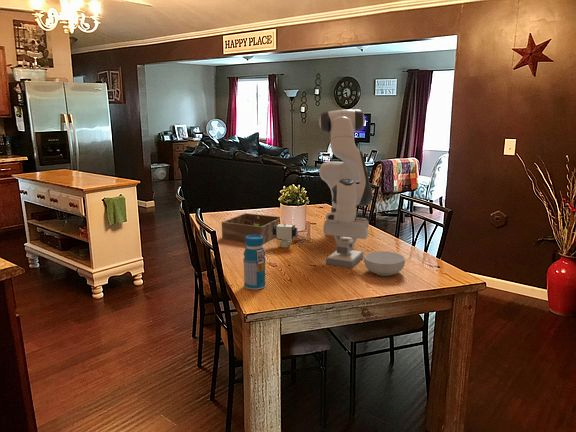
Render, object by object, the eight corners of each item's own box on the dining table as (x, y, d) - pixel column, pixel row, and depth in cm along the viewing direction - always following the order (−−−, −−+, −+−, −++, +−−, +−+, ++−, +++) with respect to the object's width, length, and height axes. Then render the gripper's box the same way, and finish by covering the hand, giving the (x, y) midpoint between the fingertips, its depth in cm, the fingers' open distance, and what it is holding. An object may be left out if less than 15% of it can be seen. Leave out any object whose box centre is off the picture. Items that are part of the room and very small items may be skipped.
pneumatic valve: (295, 248, 232) (295, 225, 229) (272, 247, 234) (272, 223, 231) (297, 245, 237) (297, 222, 234) (275, 244, 239) (274, 221, 237)
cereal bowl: (372, 264, 210) (373, 248, 208) (409, 270, 202) (410, 254, 200) (357, 275, 196) (358, 259, 194) (396, 283, 187) (397, 266, 186)
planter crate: (245, 228, 270) (245, 213, 268) (283, 233, 260) (283, 217, 258) (222, 238, 249) (221, 222, 247) (262, 244, 239) (261, 227, 237)
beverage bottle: (243, 290, 179) (242, 239, 175) (244, 282, 188) (243, 233, 183) (265, 290, 180) (265, 239, 175) (265, 282, 188) (265, 233, 183)
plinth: (338, 253, 224) (338, 247, 223) (362, 257, 219) (363, 251, 218) (325, 263, 210) (326, 257, 209) (351, 267, 205) (352, 261, 204)
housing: (342, 248, 218) (343, 235, 216) (353, 249, 216) (353, 236, 214) (336, 252, 211) (337, 239, 209) (347, 254, 209) (347, 241, 207)
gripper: (370, 217, 208) (369, 247, 211) (327, 212, 216) (326, 241, 220) (366, 220, 202) (365, 251, 205) (322, 215, 211) (321, 245, 214)
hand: (345, 246), depth 213 cm, fingers closed on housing, 5 cm apart
